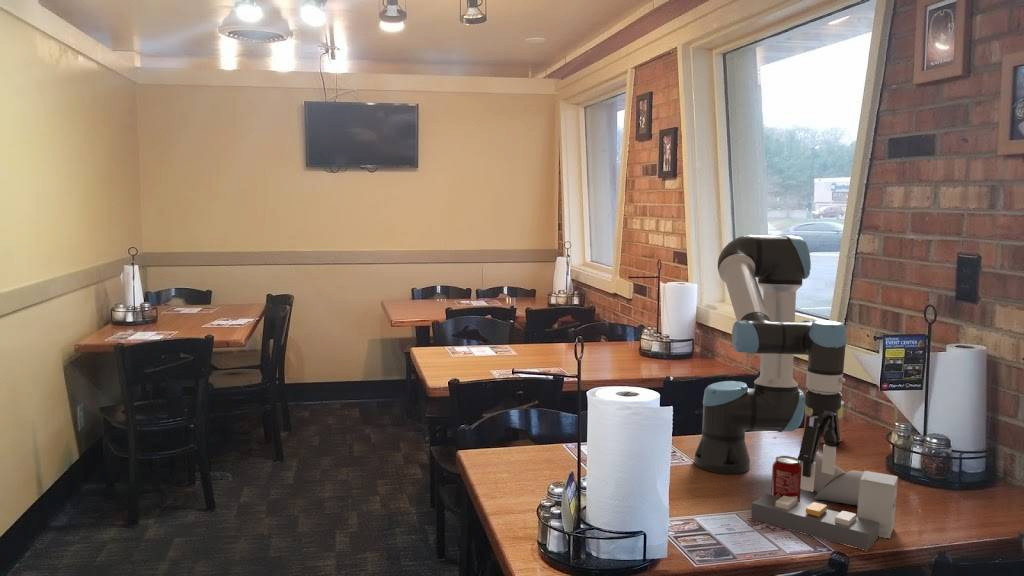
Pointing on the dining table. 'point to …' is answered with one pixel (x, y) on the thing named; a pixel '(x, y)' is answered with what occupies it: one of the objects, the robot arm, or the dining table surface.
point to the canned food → (840, 419)
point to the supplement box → (878, 500)
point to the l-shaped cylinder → (836, 484)
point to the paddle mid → (816, 509)
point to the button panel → (816, 521)
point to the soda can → (786, 477)
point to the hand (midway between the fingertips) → (817, 481)
